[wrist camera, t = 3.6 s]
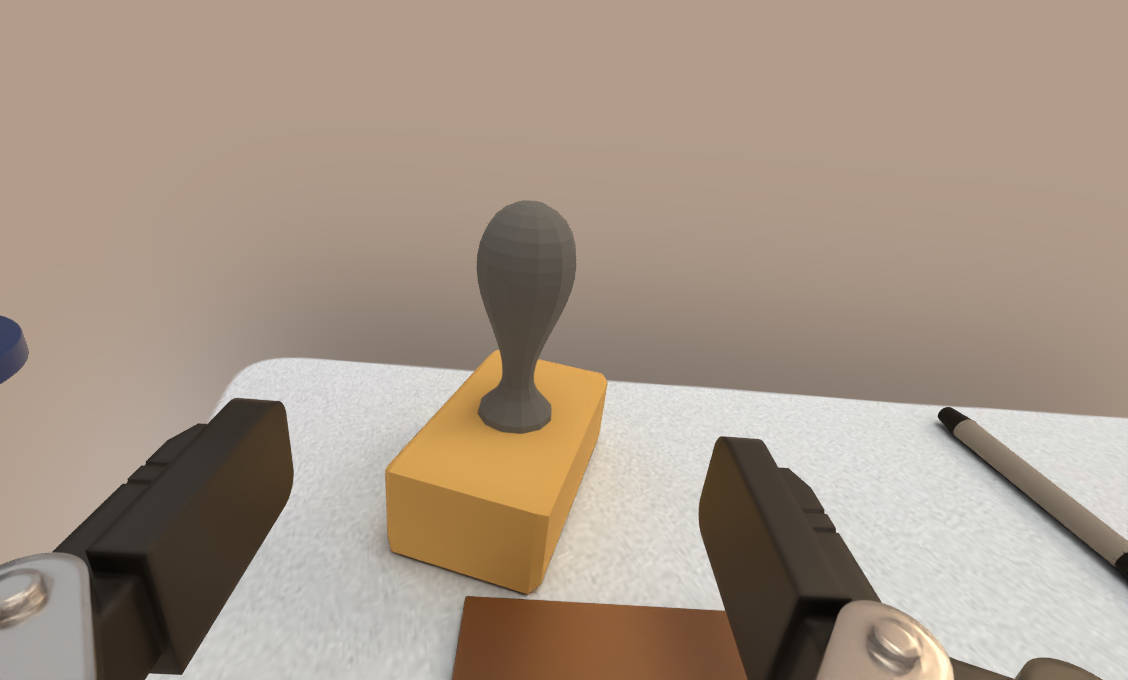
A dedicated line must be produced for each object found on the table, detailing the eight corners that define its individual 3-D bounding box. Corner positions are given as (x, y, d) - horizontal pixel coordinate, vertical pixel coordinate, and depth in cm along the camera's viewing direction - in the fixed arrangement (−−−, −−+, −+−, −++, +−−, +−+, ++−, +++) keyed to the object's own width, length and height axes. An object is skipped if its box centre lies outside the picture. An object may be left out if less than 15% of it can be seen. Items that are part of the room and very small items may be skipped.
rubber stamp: (536, 599, 19) (578, 256, 14) (383, 550, 20) (367, 216, 15) (599, 437, 28) (639, 190, 22) (489, 409, 29) (503, 169, 24)
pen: (949, 423, 33) (959, 404, 32) (1315, 718, 18) (1344, 692, 17) (929, 422, 33) (938, 403, 32) (1281, 719, 18) (1310, 693, 17)
